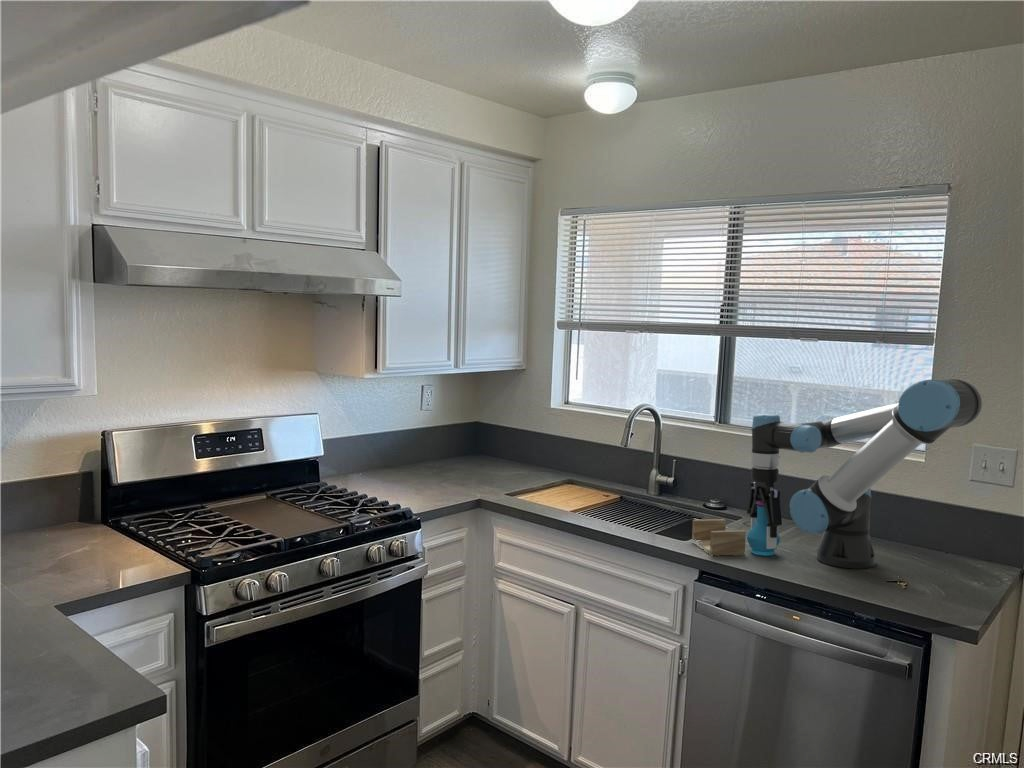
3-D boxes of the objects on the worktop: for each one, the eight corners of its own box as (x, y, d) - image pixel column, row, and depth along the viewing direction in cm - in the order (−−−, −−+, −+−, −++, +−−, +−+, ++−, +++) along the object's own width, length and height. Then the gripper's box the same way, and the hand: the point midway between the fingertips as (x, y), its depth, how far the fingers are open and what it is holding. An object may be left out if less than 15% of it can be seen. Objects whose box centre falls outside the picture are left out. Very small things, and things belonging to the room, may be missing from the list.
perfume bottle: (781, 557, 214) (783, 505, 213) (748, 555, 216) (749, 503, 215) (777, 549, 223) (778, 499, 222) (744, 547, 225) (745, 497, 224)
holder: (744, 555, 217) (745, 531, 217) (712, 556, 216) (712, 532, 216) (722, 541, 232) (723, 519, 232) (692, 542, 231) (692, 519, 230)
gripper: (796, 473, 208) (794, 553, 209) (759, 461, 230) (757, 534, 231) (771, 473, 207) (769, 554, 208) (736, 461, 229) (734, 534, 230)
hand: (763, 543), depth 219 cm, fingers closed on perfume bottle, 9 cm apart
